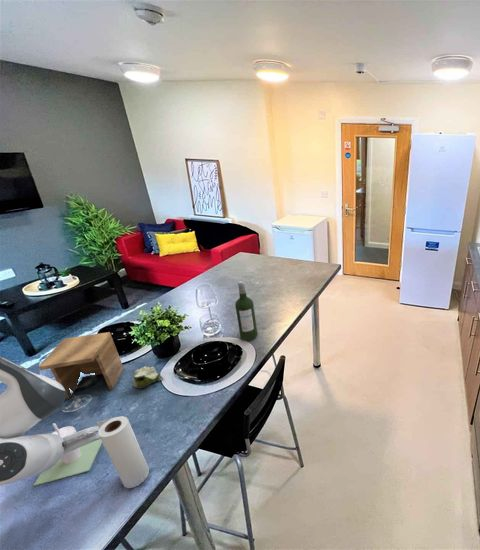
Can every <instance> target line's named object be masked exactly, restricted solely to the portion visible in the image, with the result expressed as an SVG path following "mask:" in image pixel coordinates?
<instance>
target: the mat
mask: <svg viewBox="0 0 480 550" xmlns="http://www.w3.org/2000/svg"><path fill="white" fill-rule="evenodd" d="M102 445H103V443H102V441H101V439H99V440H97V441H94V442H92V443H89V444H87V445H85V446H82V447H80V448H79V449H80V453H81V455H80V457H79V458H78V459H77V460H76V461H74V462H72V463H70V464H65V463H63V462H62V461H61V460H59V461H58V462H57V463H56V464H55V465H54V466H53V467H52V468H50V469H49V470H47V471H45V472H43V473H41V474H38V477H37V479H36V481H35V482H34V483H33V486H34V487H37V486H40V485H44V484H48V483H51V482H55V481H59V480H62V479H65V478H70V477H73V476H76V475H81V474H84V473H88V472H90V470H91V468H92V466H93V464H94V461H95V459H96V457H97V455H98V452H99V451H100V449H101V447H102Z"/></svg>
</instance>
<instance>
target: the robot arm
mask: <svg viewBox="0 0 480 550" xmlns="http://www.w3.org/2000/svg"><path fill="white" fill-rule="evenodd" d="M0 383H2V384H4V385H6V386H7V387H6V389H5V390H4V391H3V392H2V393H1V394H0V486H5V485H6V486H7V485H10V484H13V483H18V482H20V481H24V480H25V479H29V478H32V477H35V476H39V475H40V474H41V473H43V472H45V471H47V470H49V469H50V468H52V467H53V466H54V465H55V464H56V463H57V462H58V461H59V460H60V459H61V457H62V456H63V454H65V453H68V452H70V451H73V450H75V449H77V448H80V447H82V446H85V445H87V444H89V443H92V442H94V441H97V440H99V439H100V437H99V435H98V430H99V429H100V428H99V426H98V425H94V426H90V427H87V428H84V429H81V430H78V431H76V433H73V434H70V435H68V436H65V437H63V438H61V437H60V436H58V435H56V434H51V433H52V432H51V433H50V432H49V433H37V434H27V435H24V434H25V433H26V432H28V431H29V430H31V428H33V427H34V426H35V425H37V424H39V423H40V422H41V421H43V420H44V419H46V418H47V417H49V416H50V415H52V414H54V413H55V412H57V411H58V410H60V409H61V408H62V406H63V404H64V402H65V400H66V398H65V396H66V390H65V389H64V387H63V386H62V385H61V384H60V383H59V382H57V381H56V379H53V378H51V377H49V376H46V375H45V376H44V375H42V374H38V373H36V372H34V371H32V370H30V369H28V368H26V367H24V366H22V365H20V364H18V363H16V362H14V361H12V360H10V359H8V358H6V357H4V356H2V355H0Z"/></svg>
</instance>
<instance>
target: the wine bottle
mask: <svg viewBox="0 0 480 550" xmlns="http://www.w3.org/2000/svg"><path fill="white" fill-rule="evenodd" d="M245 284H246V283H245V282H244V281H243V280H240V281H238V282H237V287H238V293H239V298H237V300H236V301H235V303H234V306H235V307H234V308H235V312H236V318H237V322H238V330H239V337H240V339H241V340H243V341H252V340H255V338H257V336H258V327H257V320H256V314H255V313H256V312H255V307H254V301H253V299H252V298H251V297H248V296H247V295H248V294H247V290H246V285H245Z"/></svg>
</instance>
